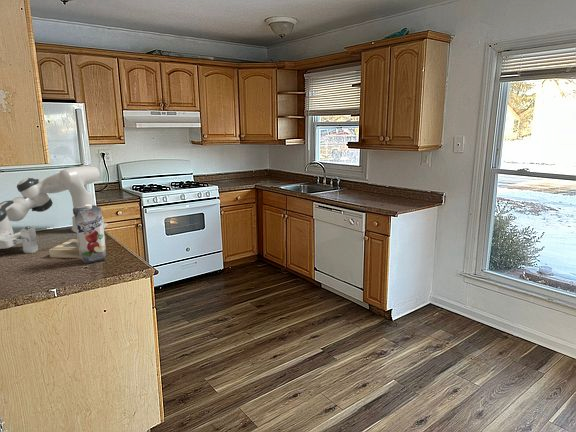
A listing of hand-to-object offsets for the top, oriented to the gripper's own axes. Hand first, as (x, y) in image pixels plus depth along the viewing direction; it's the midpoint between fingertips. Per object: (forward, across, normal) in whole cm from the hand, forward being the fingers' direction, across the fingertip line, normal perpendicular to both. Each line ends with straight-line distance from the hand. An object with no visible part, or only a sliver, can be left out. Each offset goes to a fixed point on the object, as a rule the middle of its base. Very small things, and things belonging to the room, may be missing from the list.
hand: (31, 239), depth 202 cm
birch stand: (+23, 0, -7) cm, 24 cm away
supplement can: (+23, -20, -7) cm, 31 cm away
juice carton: (+39, +13, -7) cm, 42 cm away
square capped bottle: (-1, 0, -7) cm, 7 cm away
